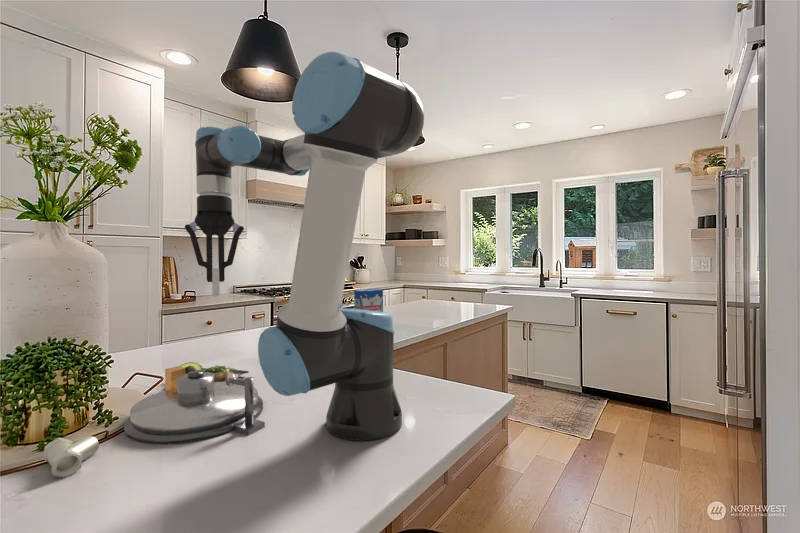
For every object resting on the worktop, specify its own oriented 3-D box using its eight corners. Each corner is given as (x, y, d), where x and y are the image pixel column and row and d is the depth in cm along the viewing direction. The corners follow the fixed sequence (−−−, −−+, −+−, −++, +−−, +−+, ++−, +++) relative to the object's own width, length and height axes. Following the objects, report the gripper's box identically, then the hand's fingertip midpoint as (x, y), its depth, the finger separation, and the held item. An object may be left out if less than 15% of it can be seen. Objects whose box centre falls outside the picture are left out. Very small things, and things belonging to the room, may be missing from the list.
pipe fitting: (94, 451, 70) (43, 464, 65) (95, 429, 70) (45, 440, 65) (106, 467, 65) (52, 482, 60) (108, 443, 65) (54, 456, 60)
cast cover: (220, 399, 85) (220, 371, 85) (187, 409, 79) (186, 379, 79) (204, 392, 89) (203, 365, 89) (171, 401, 84) (170, 373, 83)
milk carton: (360, 342, 155) (360, 291, 154) (354, 339, 160) (354, 289, 160) (383, 339, 160) (383, 290, 159) (376, 336, 165) (376, 288, 165)
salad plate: (251, 369, 119) (251, 354, 119) (245, 389, 102) (245, 371, 102) (180, 375, 114) (179, 359, 114) (160, 396, 97) (160, 377, 97)
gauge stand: (264, 426, 79) (264, 375, 79) (248, 435, 75) (248, 381, 75) (235, 419, 82) (234, 370, 82) (218, 426, 79) (218, 375, 79)
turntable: (280, 404, 87) (280, 372, 87) (164, 447, 68) (164, 406, 68) (220, 383, 101) (220, 356, 101) (110, 414, 82) (109, 380, 82)
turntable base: (271, 426, 79) (271, 421, 79) (111, 456, 67) (111, 450, 67) (255, 387, 102) (255, 383, 102) (134, 404, 90) (134, 400, 90)
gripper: (242, 199, 100) (243, 293, 101) (183, 196, 94) (185, 295, 95) (245, 196, 93) (246, 295, 94) (182, 192, 88) (184, 298, 88)
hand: (215, 295), depth 95 cm, fingers closed
